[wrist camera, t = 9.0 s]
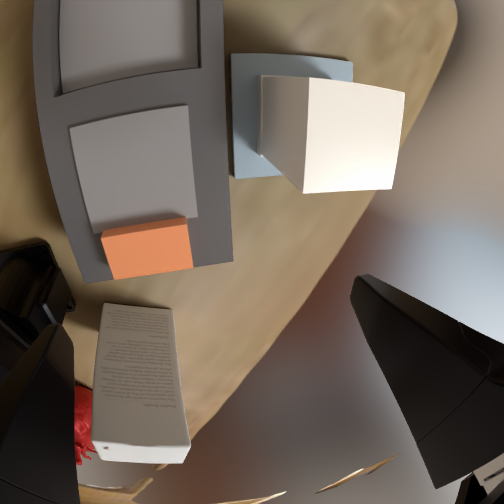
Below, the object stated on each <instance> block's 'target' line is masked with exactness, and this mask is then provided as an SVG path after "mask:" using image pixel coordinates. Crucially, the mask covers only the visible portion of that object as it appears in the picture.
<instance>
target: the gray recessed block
mask: <svg viewBox="0 0 504 504" xmlns="http://www.w3.org/2000/svg"><path fill="white" fill-rule="evenodd" d="M33 72H34V86H35V96H36V105H37V113H38V120H39V126H40V132H41V138H42V143H43V149H44V153H45V158H46V163H47V167H48V172H49V176H50V180H51V184H52V188H53V191H54V195H55V199H56V202H57V206H58V209H59V212H60V216H61V219H62V222H63V225H64V228H65V231H66V234H67V237H68V240H69V243H70V245H71V248H72V251H73V254H74V256H75V259H76V262H77V264H78V267H79V269H80V272H81V274H82V277H83V279H84V281H85V284H86V283H93V282H99V281H106V280H113V279H114V280H116V279H123V278H130V277H136V276H143V275H150V274H156V273H163V272H170V271H176V270H183V269H189V268H193V267H199V266H206V265H212V264H219V263H225V262H232V261H233V246H232V229H231V211H230V193H229V173H228V151H227V127H226V101H225V69H224V28H223V0H34V11H33Z"/></svg>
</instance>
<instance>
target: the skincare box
mask: <svg viewBox="0 0 504 504" xmlns="http://www.w3.org/2000/svg"><path fill="white" fill-rule="evenodd" d="M91 442H92V443H93V445H94V447H95V449H96V450H97V452H98V454H99V456H100V458H101V459H102V460H108V461H122V462H139V463H183V461H184V459H185V457H186V455H187V453H188V451H189V449H190V447H191V442H190V437H189V432H188V427H187V421H186V416H185V409H184V403H183V396H182V389H181V381H180V374H179V365H178V356H177V347H176V337H175V326H174V314H173V310H171V309H158V308H147V307H137V306H127V305H118V304H110V303H104V305H103V309H102V315H101V322H100V328H99V335H98V343H97V350H96V358H95V368H94V379H93V393H92V419H91Z"/></svg>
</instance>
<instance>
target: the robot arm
mask: <svg viewBox="0 0 504 504" xmlns="http://www.w3.org/2000/svg"><path fill="white" fill-rule="evenodd" d="M43 248H45V249H46V251H45V250H43ZM350 300H351V304H352V306H353V309H354V310H355V314H356V316H357V318H358V321H359V323H360V326H361V328H362V331H363V333H364V336H365V338H366V340H367V343H368V345H369V347H370V349H371V351H372V352H373V354H374V356H375V358H376V360H377V362H378V364H379V366H380V368H381V370H382V372H383V374H384V375H385V378H386V380H387V382H388V384H389V386H390V388H391V390H392V392H393V394H394V396H395V398H396V400H397V403H398V405H399V407H400V408H401V411H402V413H403V415H404V417H405V419H406V421H407V424H408V426H409V428H410V430H411V433H412V435H413V437H414V439H415V441H416V442H417V443H416V444H417V447H418V449H419V451H420V453H421V456H422V458H423V460H424V463H425V465H426V468H427V470H428V473H429V475H430V477H431V480H432V482H433V485H434V487H435V489H438V488H440V487H443V486H445V485H447V484H449V483H451V482H453V481H455V480H457V479H459V478H461V477H463V476H465V475H467V474H469V473H471V472H472V473H471V474H470V475H469V476H467V477H466V478H465V479H464V480H463V481H462V482H461V485H460V489H459V492H458V496H457V499H456V502H455V504H504V344H503V343H501V342H498V341H496V340H494V339H492V338H490V337H488V336H486V335H484V334H482V333H479V332H478V331H476V330H474V329H472V328H470V327H468V326H466V325H465V324H463V323H461V322H458V321H457V320H455V319H454V318H452V317H450V316H448V315H446V314H444V313H443V312H441V311H439V310H437V309H435V308H433V307H431V306H429V305H427V304H426V303H424V302H422V301H420V300H418V299H416V298H414V297H412V296H410V295H408V294H407V293H405V292H403V291H401V290H399V289H397V288H395V287H393V286H391V285H389V284H387V283H385V282H383V281H381V280H379V279H377V278H376V277H374V276H372V275H370V274H362V275H359V276H356V278H355V279H354V283H353V287H352V291H351V294H350ZM69 305H70V306H69ZM75 307H76V304H75V302H74V300H73V297H72V295H71V291H70V289H69V286H68V284H67V282H66V280H65V278H64V275H63V273H62V271H61V269H60V268H59V267H58V264H57V262H56V259H55V257H54V254H53V252H52V249H51V247H50V245H49V244H48V243H47V242H40V243H35V244H31V245H26V246H22V247H17V248H13V249H8V250H4V251H0V504H80V497H79V490H78V480H77V471H76V455H75V379H74V346H73V343H72V341H71V339H70V337H69V336H68V334H67V332H66V331H65V329H64V327H63V326H62V323H63V320H64V316H65V313H66V312H72V311H74V310H75Z"/></svg>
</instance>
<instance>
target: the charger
mask: <svg viewBox="0 0 504 504" xmlns="http://www.w3.org/2000/svg"><path fill="white" fill-rule="evenodd" d="M404 99H405V93H404V92H400V91H395V90H391V89H386V88H381V87H376V86H370V85H364V84H358V83H352V82H345V81H338V80H330V79H321V78H310V77H294V76H274V75H257V154H258V155H259V156H260V157H265V158H266V159H267V160H268V161H269V162H270V163H271V164H272V165H273V166H275V167H276V168H277V169H278V170H279V171H280V172H281V173H282V174H283V175H284V176H285V177H286V178H287V179H288V180H289V181H290V182H292V183H293V184H294V185H295V186H296V187H297V188H298V189H299V190H300V191H301V192H302V193H303V194H305V193H319V192H335V191H353V190H376V189H392V184H393V179H394V173H395V168H396V162H397V156H398V149H399V142H400V135H401V127H402V119H403V109H404Z"/></svg>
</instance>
